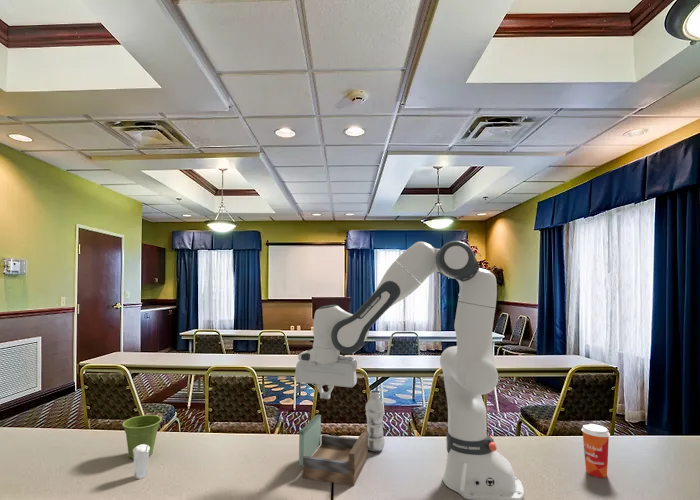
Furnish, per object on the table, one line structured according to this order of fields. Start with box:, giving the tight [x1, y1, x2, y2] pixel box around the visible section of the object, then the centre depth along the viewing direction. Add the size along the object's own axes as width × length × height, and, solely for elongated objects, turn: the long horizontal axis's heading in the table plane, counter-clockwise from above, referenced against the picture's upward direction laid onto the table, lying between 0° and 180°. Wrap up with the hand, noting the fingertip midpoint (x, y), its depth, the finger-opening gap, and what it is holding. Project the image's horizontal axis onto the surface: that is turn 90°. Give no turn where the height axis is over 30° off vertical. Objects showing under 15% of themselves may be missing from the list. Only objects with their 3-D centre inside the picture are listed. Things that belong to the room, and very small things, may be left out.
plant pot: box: [121, 414, 163, 460], centre depth 137 cm, size 12×12×11 cm
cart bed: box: [302, 430, 369, 487], centre depth 129 cm, size 16×18×9 cm
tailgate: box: [298, 414, 322, 467], centre depth 132 cm, size 2×16×10 cm, turn 165°
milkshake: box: [133, 444, 150, 480], centre depth 123 cm, size 4×5×10 cm
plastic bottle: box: [365, 389, 386, 452], centre depth 143 cm, size 6×7×20 cm
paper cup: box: [581, 423, 611, 479], centre depth 127 cm, size 8×8×14 cm
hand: (325, 398), depth 131 cm, fingers closed
